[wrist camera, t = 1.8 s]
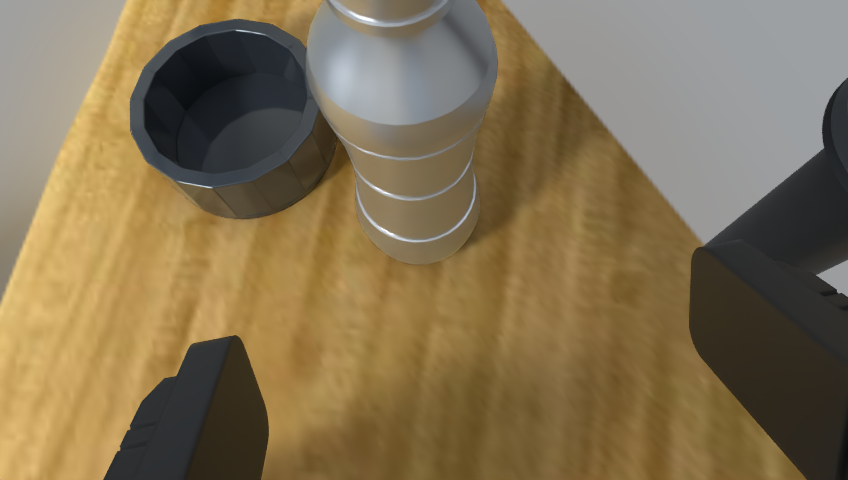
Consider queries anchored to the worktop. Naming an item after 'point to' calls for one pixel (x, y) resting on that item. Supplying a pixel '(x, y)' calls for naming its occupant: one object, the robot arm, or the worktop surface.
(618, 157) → the worktop surface
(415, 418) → the worktop surface
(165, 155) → the socket
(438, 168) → the silver bottle
